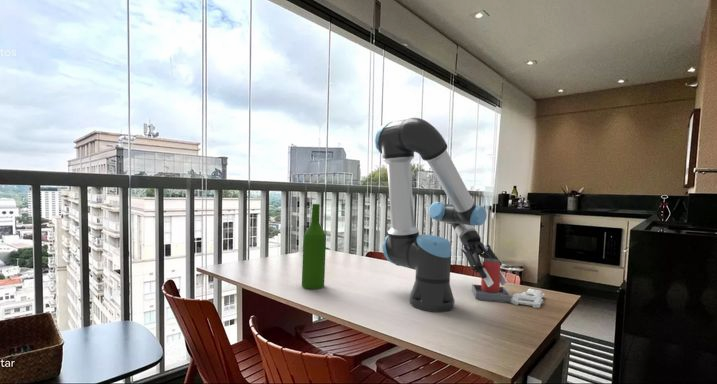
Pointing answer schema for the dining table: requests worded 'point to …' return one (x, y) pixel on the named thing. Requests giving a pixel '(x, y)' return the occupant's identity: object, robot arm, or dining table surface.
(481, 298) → the can tray
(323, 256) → the wine bottle
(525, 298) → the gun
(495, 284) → the beer can
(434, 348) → the dining table surface
